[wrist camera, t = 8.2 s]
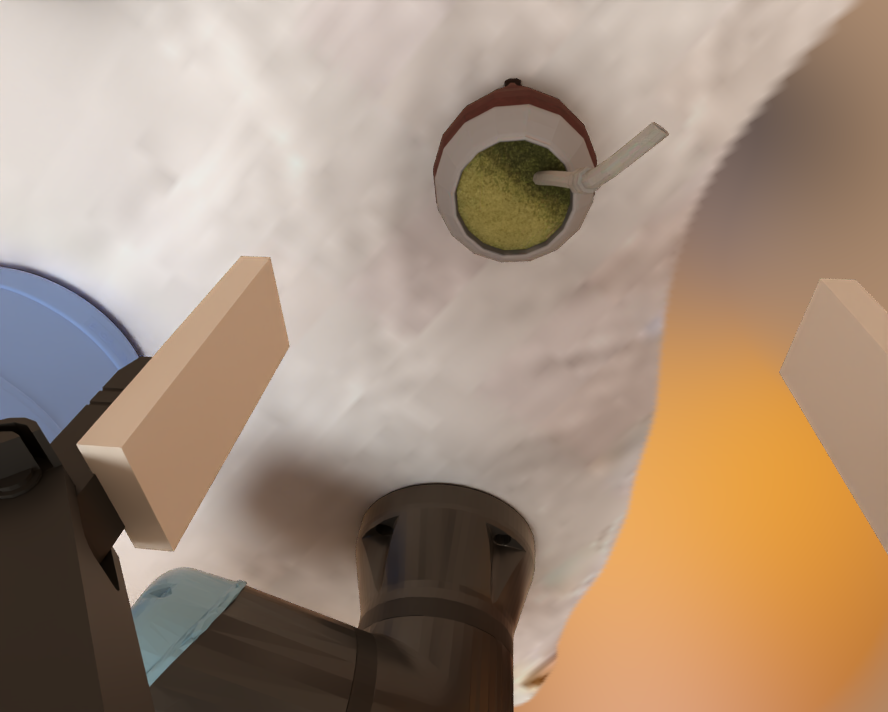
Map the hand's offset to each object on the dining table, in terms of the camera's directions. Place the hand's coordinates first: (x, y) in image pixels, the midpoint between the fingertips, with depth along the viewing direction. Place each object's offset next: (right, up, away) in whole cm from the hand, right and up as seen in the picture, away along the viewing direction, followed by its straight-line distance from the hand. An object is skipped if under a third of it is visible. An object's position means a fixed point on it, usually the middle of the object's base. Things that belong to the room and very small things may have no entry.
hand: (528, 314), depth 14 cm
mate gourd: (+2, +10, +15) cm, 18 cm away
